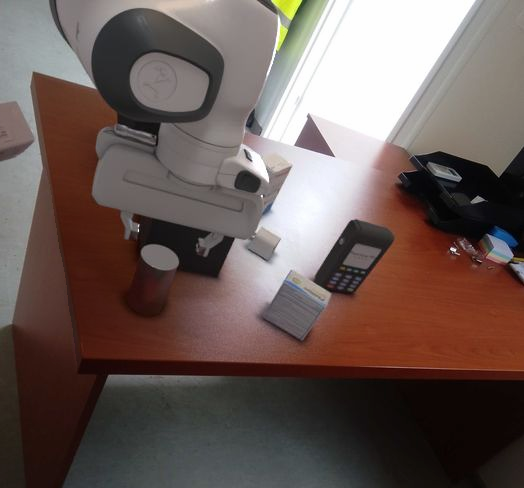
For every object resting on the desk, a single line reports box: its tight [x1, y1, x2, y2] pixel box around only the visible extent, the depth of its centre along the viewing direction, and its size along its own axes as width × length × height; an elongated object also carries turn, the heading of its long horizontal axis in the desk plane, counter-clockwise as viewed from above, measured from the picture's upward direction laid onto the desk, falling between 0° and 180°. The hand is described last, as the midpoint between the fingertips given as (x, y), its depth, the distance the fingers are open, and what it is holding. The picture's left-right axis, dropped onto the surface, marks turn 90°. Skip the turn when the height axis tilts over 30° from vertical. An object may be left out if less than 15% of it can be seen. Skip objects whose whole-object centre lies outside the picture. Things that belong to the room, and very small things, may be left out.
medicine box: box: [262, 269, 332, 342], centre depth 75 cm, size 8×4×9 cm, turn 71°
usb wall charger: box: [248, 226, 282, 261], centre depth 89 cm, size 4×7×4 cm, turn 71°
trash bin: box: [139, 215, 236, 278], centre depth 77 cm, size 13×13×10 cm
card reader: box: [314, 218, 395, 295], centre depth 87 cm, size 9×4×15 cm, turn 106°
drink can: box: [126, 244, 179, 317], centre depth 65 cm, size 5×5×9 cm
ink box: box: [260, 152, 293, 215], centre depth 95 cm, size 9×5×12 cm, turn 150°
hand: (166, 245), depth 61 cm, fingers open, 8 cm apart
